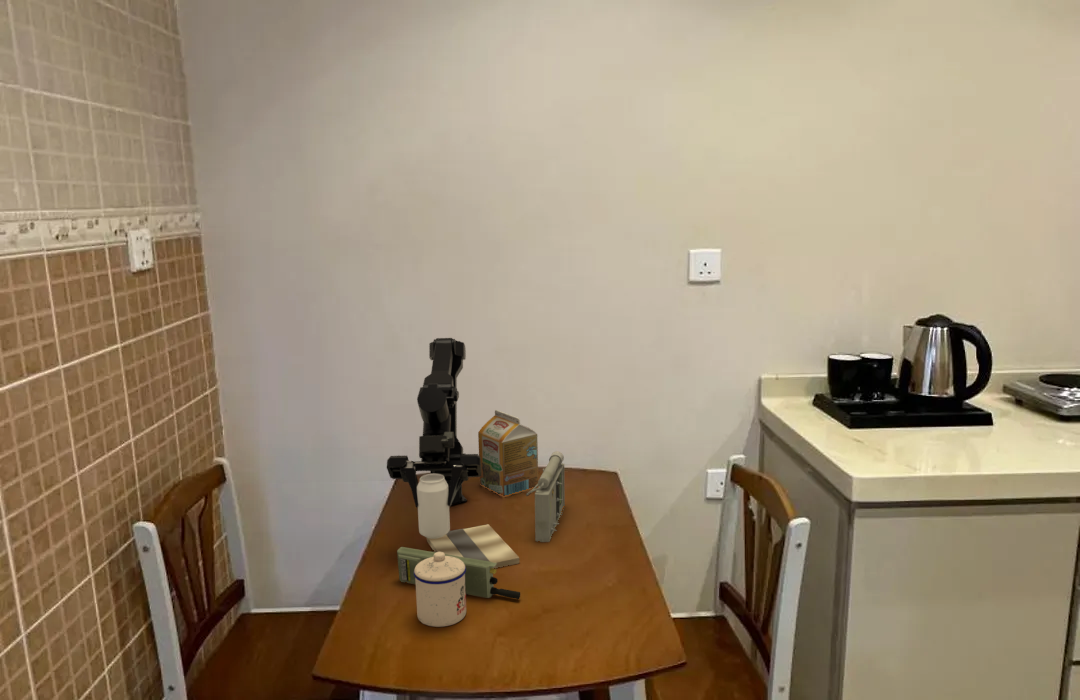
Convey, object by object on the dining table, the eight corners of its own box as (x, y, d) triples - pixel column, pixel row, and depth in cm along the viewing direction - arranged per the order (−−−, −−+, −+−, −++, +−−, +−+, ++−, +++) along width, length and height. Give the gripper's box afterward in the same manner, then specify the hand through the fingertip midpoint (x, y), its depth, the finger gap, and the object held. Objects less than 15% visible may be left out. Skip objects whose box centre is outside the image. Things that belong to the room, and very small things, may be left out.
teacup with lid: (469, 625, 138) (467, 563, 136) (416, 631, 137) (412, 567, 135) (465, 591, 150) (462, 533, 148) (415, 596, 148) (412, 537, 146)
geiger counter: (553, 480, 167) (572, 443, 191) (523, 479, 168) (546, 442, 192) (553, 543, 170) (572, 498, 194) (524, 541, 171) (546, 497, 195)
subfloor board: (427, 541, 172) (426, 535, 171) (488, 529, 177) (488, 523, 177) (452, 577, 155) (452, 571, 155) (519, 563, 161) (519, 556, 161)
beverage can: (454, 536, 160) (452, 479, 158) (425, 543, 158) (422, 485, 155) (443, 525, 166) (441, 470, 163) (415, 531, 163) (412, 475, 160)
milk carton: (480, 485, 203) (477, 413, 199) (514, 476, 209) (512, 406, 206) (503, 498, 195) (501, 422, 191) (538, 487, 201) (537, 414, 197)
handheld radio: (406, 575, 157) (523, 597, 148) (397, 583, 154) (516, 606, 145) (403, 544, 156) (522, 564, 146) (394, 552, 153) (515, 573, 143)
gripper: (385, 418, 160) (378, 491, 152) (478, 416, 161) (477, 488, 152) (393, 442, 170) (388, 512, 161) (482, 440, 170) (481, 510, 162)
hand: (432, 506), depth 159 cm, fingers closed on beverage can, 6 cm apart
